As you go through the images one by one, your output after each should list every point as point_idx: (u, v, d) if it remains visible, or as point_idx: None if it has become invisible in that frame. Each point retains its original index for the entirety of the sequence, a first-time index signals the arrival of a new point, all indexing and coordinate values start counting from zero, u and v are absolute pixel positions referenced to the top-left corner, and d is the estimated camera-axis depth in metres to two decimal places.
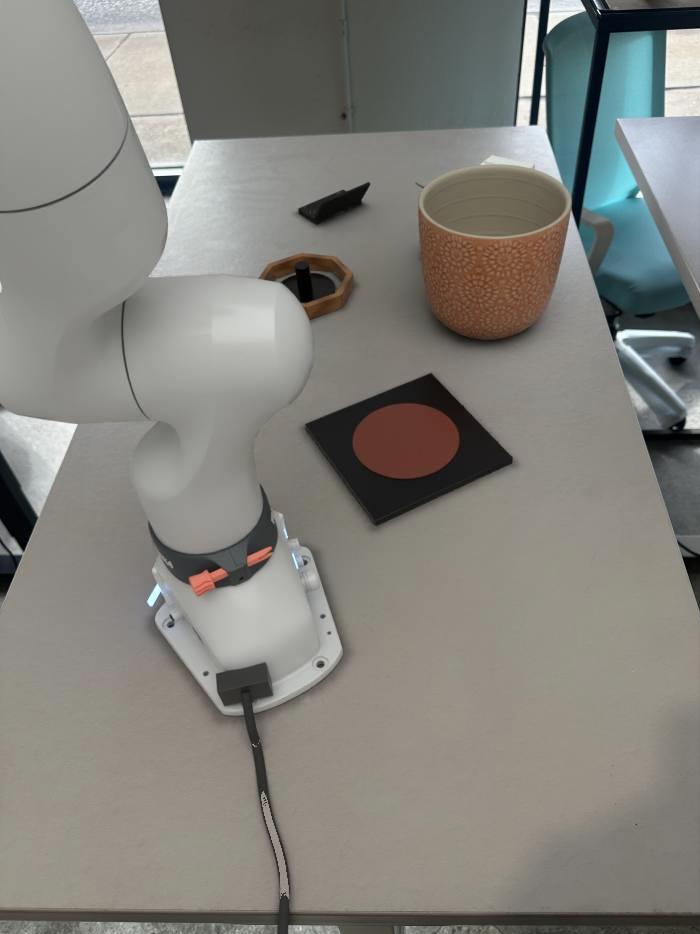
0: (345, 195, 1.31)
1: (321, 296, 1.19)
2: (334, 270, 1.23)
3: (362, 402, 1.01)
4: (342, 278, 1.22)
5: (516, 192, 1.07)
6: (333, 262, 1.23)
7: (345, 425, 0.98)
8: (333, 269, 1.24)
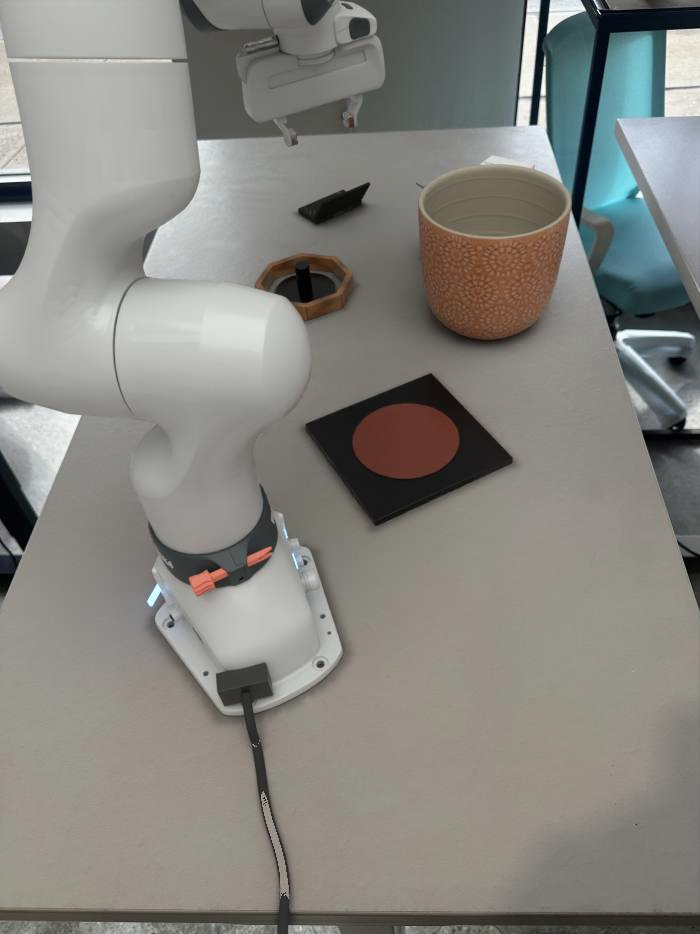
0: (345, 195, 1.31)
1: (321, 296, 1.19)
2: (334, 270, 1.23)
3: (362, 402, 1.01)
4: (342, 278, 1.22)
5: (516, 192, 1.07)
6: (333, 262, 1.23)
7: (345, 425, 0.98)
8: (333, 269, 1.24)
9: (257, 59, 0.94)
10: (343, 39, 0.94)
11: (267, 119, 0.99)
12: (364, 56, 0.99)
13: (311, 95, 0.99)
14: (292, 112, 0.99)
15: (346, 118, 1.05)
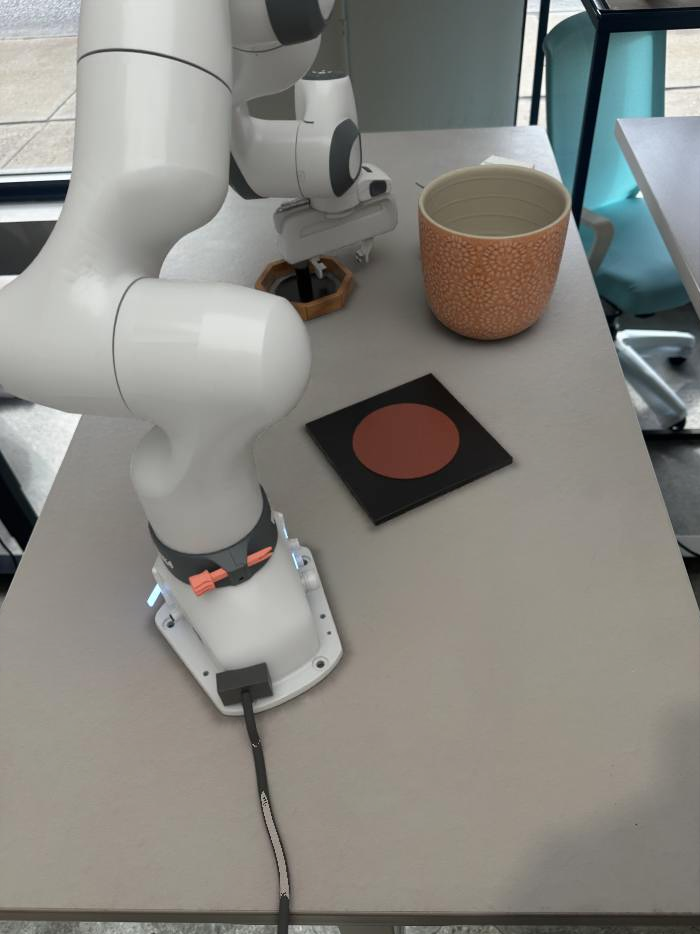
0: None
1: (321, 296, 1.19)
2: (334, 270, 1.23)
3: (362, 402, 1.01)
4: (342, 278, 1.22)
5: (516, 192, 1.07)
6: (333, 262, 1.23)
7: (345, 425, 0.98)
8: (333, 269, 1.24)
9: (291, 215, 1.10)
10: (364, 197, 1.10)
11: (298, 261, 1.14)
12: (380, 207, 1.15)
13: (335, 240, 1.15)
14: (319, 254, 1.15)
15: (359, 256, 1.21)
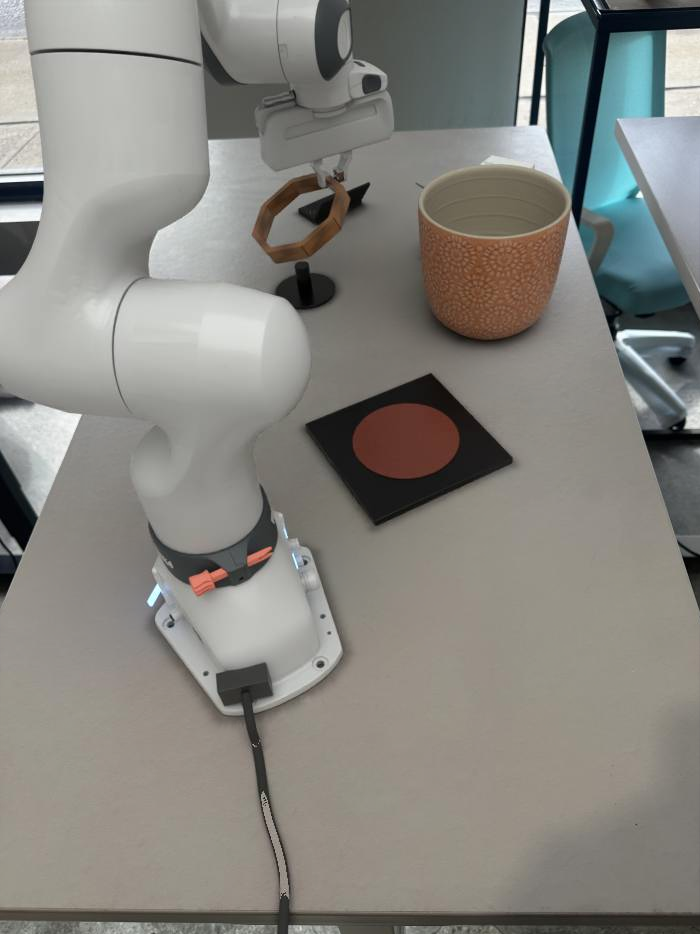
0: None
1: (321, 296, 1.19)
2: None
3: (362, 402, 1.01)
4: None
5: (516, 192, 1.07)
6: None
7: (345, 425, 0.98)
8: None
9: (274, 112, 0.98)
10: (356, 94, 0.99)
11: (283, 168, 1.03)
12: (374, 109, 1.04)
13: (325, 145, 1.04)
14: (307, 161, 1.04)
15: (336, 173, 1.09)
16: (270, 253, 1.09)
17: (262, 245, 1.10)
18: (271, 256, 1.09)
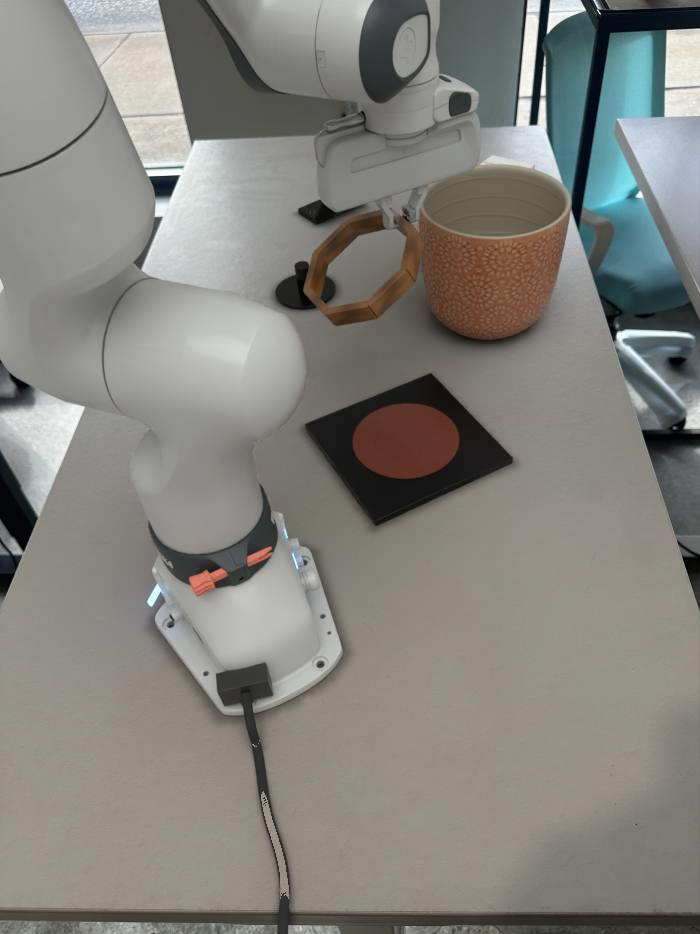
0: None
1: (321, 296, 1.19)
2: None
3: (362, 402, 1.01)
4: (406, 235, 0.90)
5: (516, 192, 1.07)
6: None
7: (345, 425, 0.98)
8: None
9: (339, 140, 0.78)
10: (441, 116, 0.79)
11: (346, 208, 0.82)
12: (459, 135, 0.84)
13: (397, 179, 0.83)
14: (374, 199, 0.83)
15: (407, 212, 0.88)
16: (328, 315, 0.89)
17: (318, 304, 0.90)
18: (330, 318, 0.89)
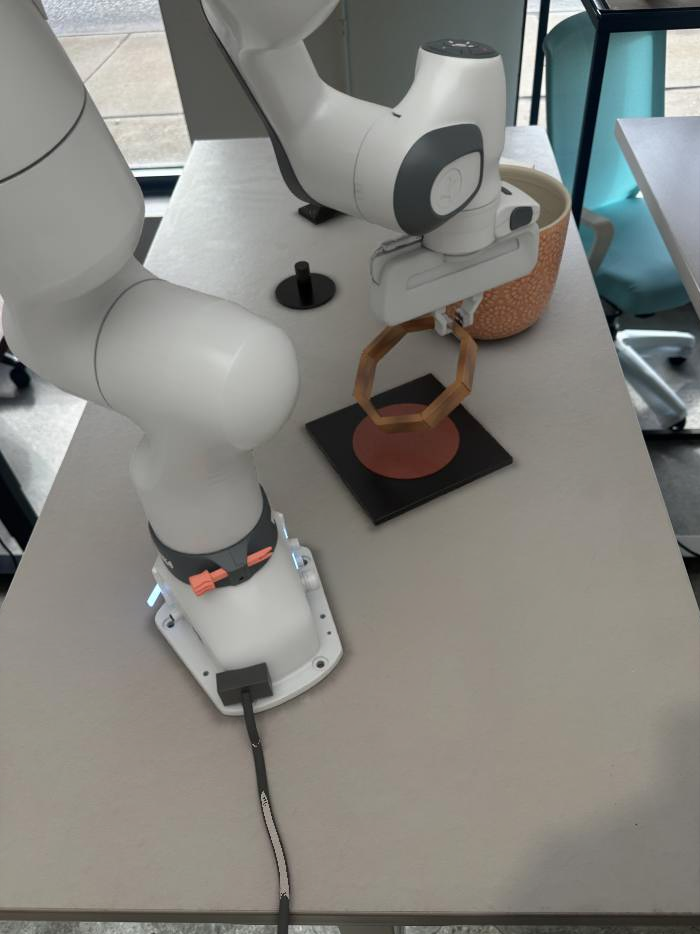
0: None
1: (321, 296, 1.19)
2: None
3: None
4: (459, 338, 0.87)
5: None
6: None
7: (345, 425, 0.98)
8: None
9: (396, 259, 0.74)
10: (502, 232, 0.75)
11: (400, 322, 0.79)
12: (517, 243, 0.80)
13: (453, 291, 0.80)
14: (429, 311, 0.80)
15: (460, 317, 0.85)
16: (381, 425, 0.86)
17: (369, 413, 0.88)
18: (382, 428, 0.87)
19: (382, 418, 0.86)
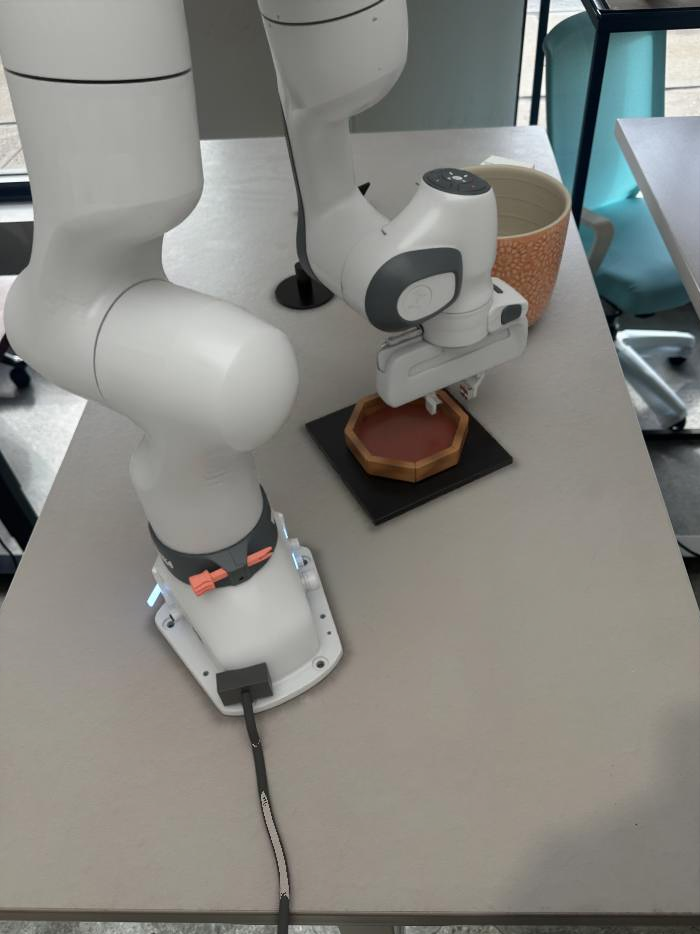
0: None
1: (321, 296, 1.19)
2: None
3: None
4: (452, 419, 0.96)
5: (516, 192, 1.07)
6: (439, 398, 0.97)
7: (345, 425, 0.98)
8: None
9: (399, 351, 0.83)
10: (494, 327, 0.84)
11: (402, 403, 0.88)
12: (508, 332, 0.89)
13: (450, 375, 0.89)
14: (428, 393, 0.89)
15: (465, 391, 0.94)
16: (370, 462, 0.90)
17: (360, 449, 0.91)
18: (369, 465, 0.90)
19: (373, 456, 0.90)
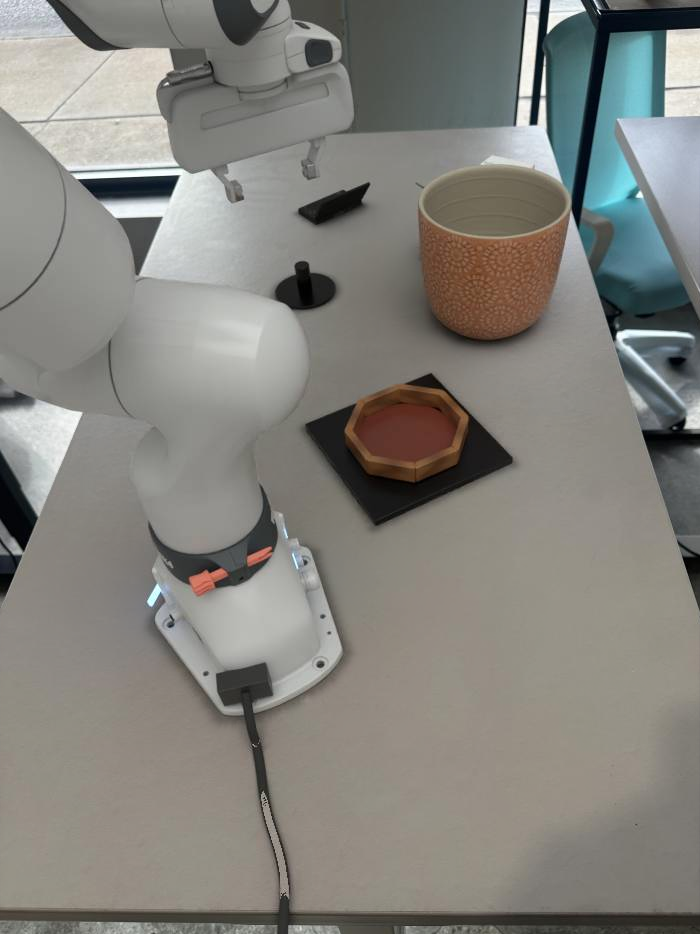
0: (345, 195, 1.31)
1: (321, 296, 1.19)
2: (441, 406, 0.98)
3: None
4: (452, 419, 0.96)
5: (516, 192, 1.07)
6: (439, 398, 0.97)
7: (345, 425, 0.98)
8: (438, 404, 0.99)
9: (184, 92, 0.71)
10: (297, 66, 0.72)
11: (201, 169, 0.76)
12: (326, 89, 0.77)
13: (258, 138, 0.77)
14: (234, 160, 0.77)
15: (305, 167, 0.83)
16: (370, 462, 0.90)
17: (360, 449, 0.91)
18: (369, 465, 0.90)
19: (373, 456, 0.90)
